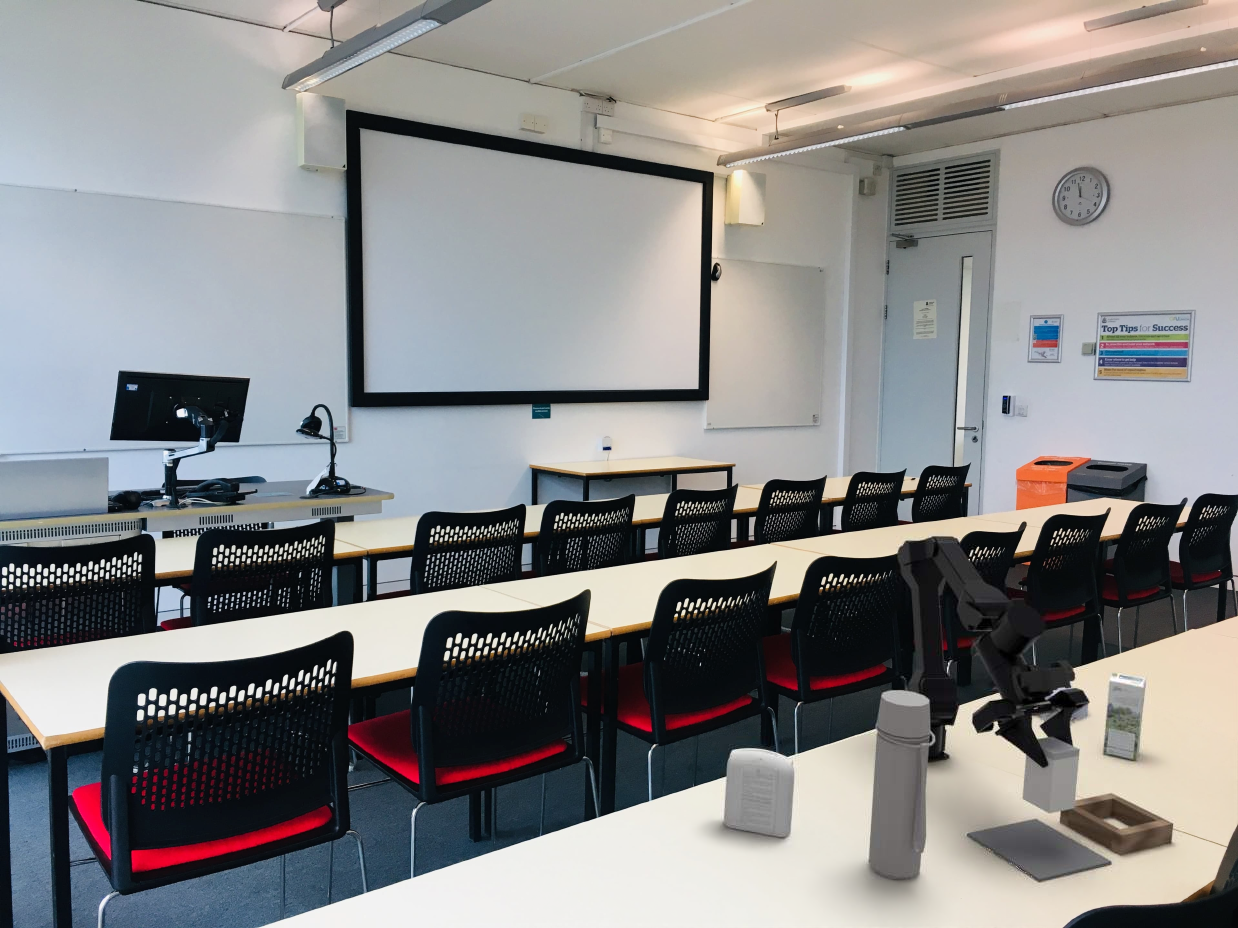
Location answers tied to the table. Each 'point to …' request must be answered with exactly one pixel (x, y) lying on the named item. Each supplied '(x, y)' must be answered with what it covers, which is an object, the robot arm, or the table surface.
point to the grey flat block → (759, 792)
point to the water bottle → (900, 784)
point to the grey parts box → (1052, 777)
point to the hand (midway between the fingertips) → (1059, 763)
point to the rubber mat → (1039, 849)
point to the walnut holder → (1137, 837)
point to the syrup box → (1124, 716)
